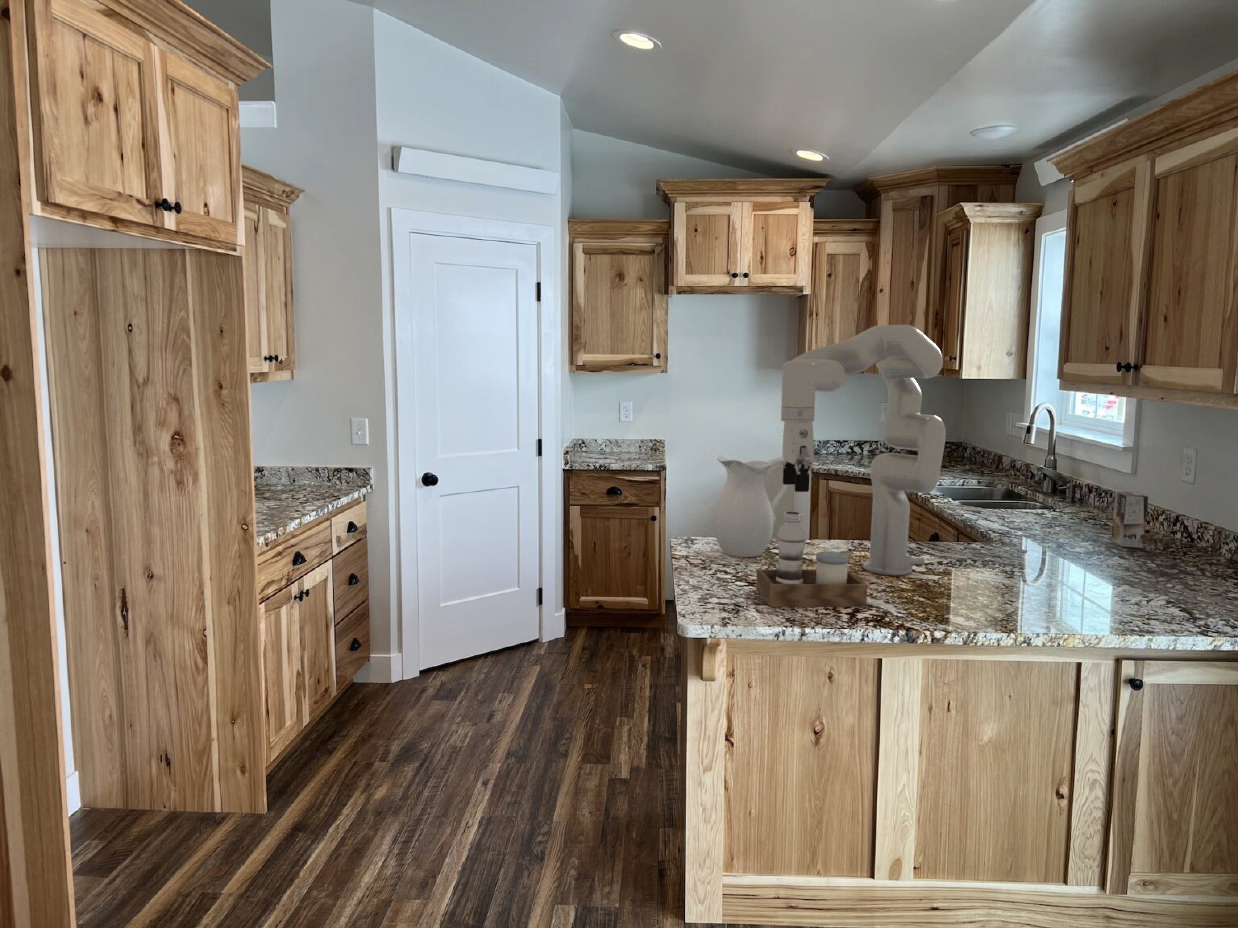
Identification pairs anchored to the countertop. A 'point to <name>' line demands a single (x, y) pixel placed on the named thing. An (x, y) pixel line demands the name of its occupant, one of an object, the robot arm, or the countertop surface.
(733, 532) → the pitcher
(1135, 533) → the coffee box
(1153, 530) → the countertop surface
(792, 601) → the crate
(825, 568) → the jar
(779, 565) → the grey metal bottle
